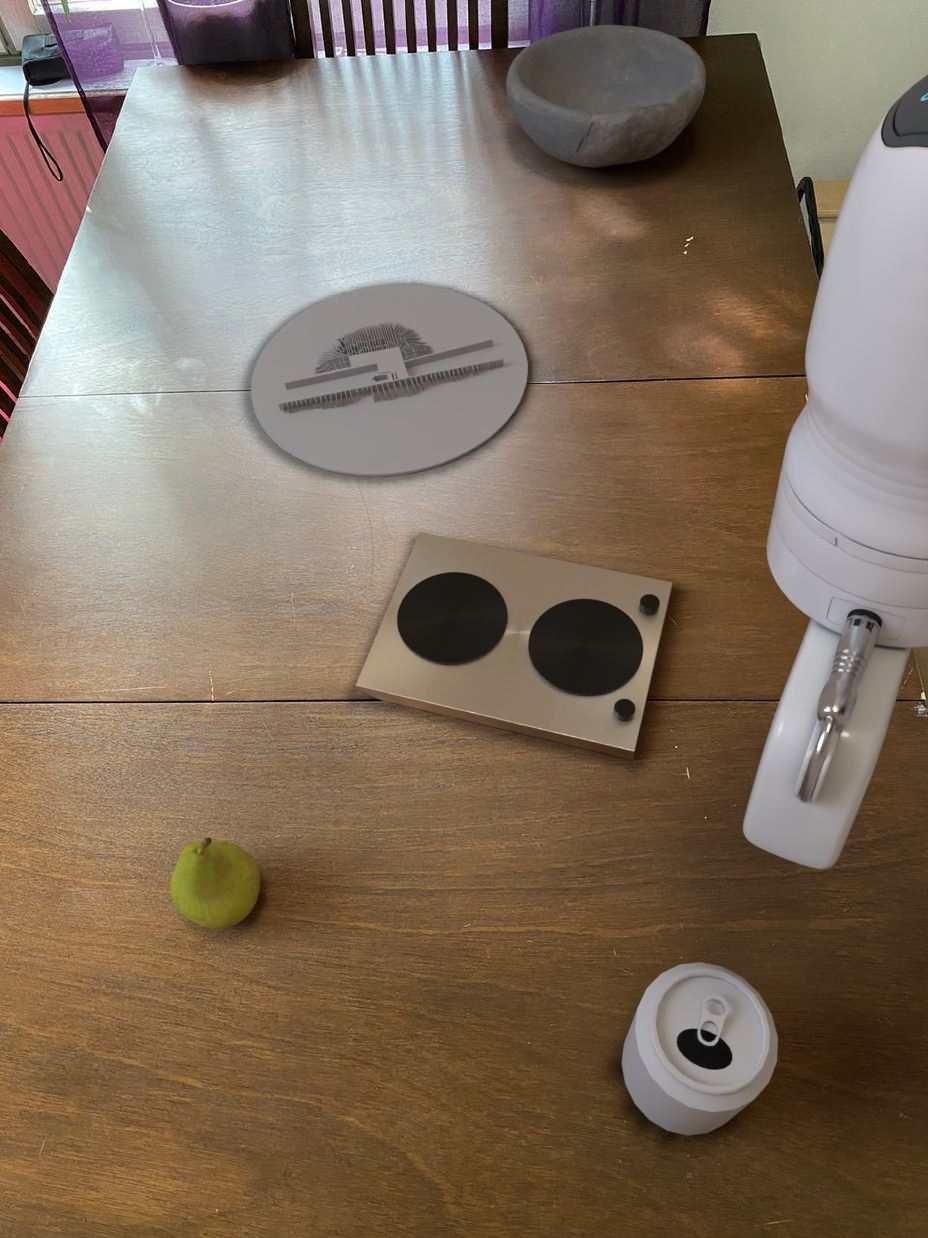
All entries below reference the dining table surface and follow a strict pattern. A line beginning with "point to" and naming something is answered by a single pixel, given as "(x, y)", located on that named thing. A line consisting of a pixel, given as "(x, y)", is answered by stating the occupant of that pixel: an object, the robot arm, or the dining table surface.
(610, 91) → the bowl
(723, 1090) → the can
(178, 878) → the fruit
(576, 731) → the hob
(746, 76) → the dining table surface
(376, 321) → the plate
